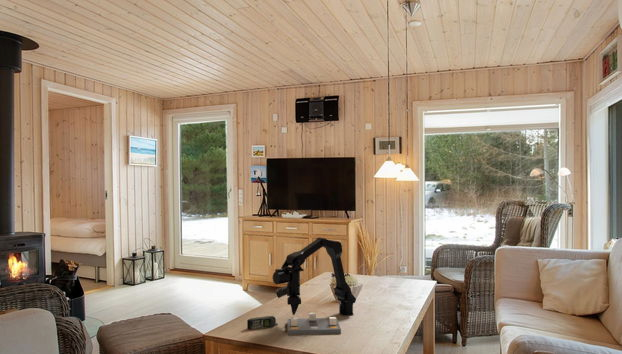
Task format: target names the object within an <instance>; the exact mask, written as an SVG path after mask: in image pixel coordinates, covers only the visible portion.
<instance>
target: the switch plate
mask: <svg viewBox="0 0 622 354" xmlns="http://www.w3.org/2000/svg"><path fill="white" fill-rule="evenodd" d="M297 319H298V326H291V318H287V322H286V325H287V326H286V327H287V335H288V336H291V335H293V336H294V335H332V334H333V335H338V334H339V335H340V334H342V328H341V327H340V324H339V321H338V319H337V317H336V325H330V324H329V317H322V318H321V317H316V321H309V317H308V318H297Z"/></svg>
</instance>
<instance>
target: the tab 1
mask: <svg viewBox="0 0 622 354" xmlns="http://www.w3.org/2000/svg"><path fill="white" fill-rule="evenodd" d="M290 319H291V326H298V319H299V318H298V317H290Z"/></svg>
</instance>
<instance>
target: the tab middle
mask: <svg viewBox="0 0 622 354" xmlns="http://www.w3.org/2000/svg"><path fill="white" fill-rule="evenodd" d="M316 316H317V315H316V312H309V314H308V318H309V321H316V318H317V317H316Z"/></svg>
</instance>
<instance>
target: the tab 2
mask: <svg viewBox="0 0 622 354" xmlns="http://www.w3.org/2000/svg"><path fill="white" fill-rule="evenodd" d="M328 318H329V324H330V325H336V318H337V317H336V316H332V317H331V316H329V317H328Z"/></svg>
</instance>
